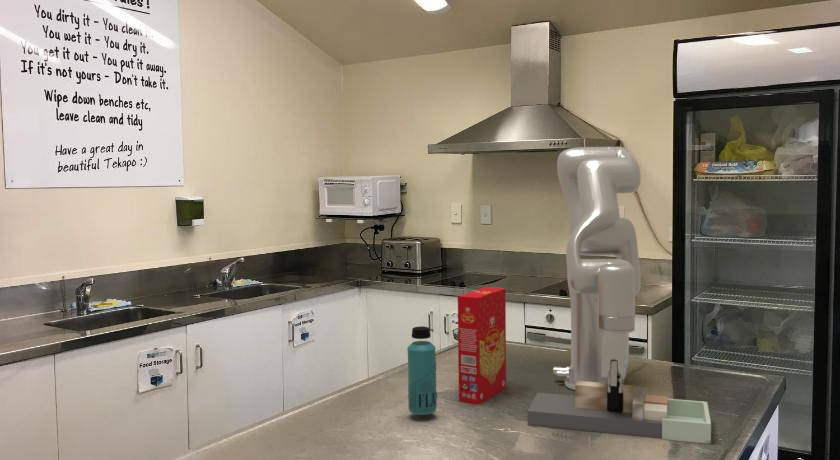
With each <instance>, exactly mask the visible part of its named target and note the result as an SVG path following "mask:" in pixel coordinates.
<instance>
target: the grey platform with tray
mask: <svg viewBox="0 0 840 460" xmlns="http://www.w3.org/2000/svg"><path fill="white" fill-rule="evenodd" d="M526 414H527V416H526V417H527V425H528V426H538V427H547V428H556V429H567V430H578V431H585V432H586V431H587V432H596V433H606V434H614V435H615V434H616V435H617V434H618V435H625V436H634V437H635V436H637V437H645V438H654V439H655V438H656V439H657V438H658V439H661V440H667V441H678V442H687V443H688V442H689V443H696V444H707V445H711V444H712V422H711V421H712V420H711V417H710V411H709V404H708V401H703V400H702V401H699V400H689V399H680V398H679V399H678V398H677V399H676V398H667V419H665V418H662V421H654V420H643V421H633V420H632V413H626V412H614V411H605V410H595V409H584V408H575V395H569V394H556V393H545V392H537V393H536V395H535V397H534V399H533V400H532V402H531V404H530V406H529V407H528V409H527V412H526Z"/></svg>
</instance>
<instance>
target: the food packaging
mask: <svg viewBox="0 0 840 460" xmlns="http://www.w3.org/2000/svg"><path fill="white" fill-rule="evenodd" d="M506 295H507V294H506V288H502V287H490V286H485V287H482V288H479V289H476V290H473V291H470V292H466V293H463V294H461V295H457V335H458V336H457V345H458V346H457V349H458V352H457V353H458V354H457V355H458V359H457V360H458V363H457V364H458V402H461V403H467V404H471V403H472V404H473V405H477V404H478V406H479V404H480V405H481V404H483V403H484V402H486V401H488V400H490V399H491V398H493V397H494V396H496V395H498V394H499V393H501V392H502V391H504V390H505V389H507V334H506V333H507V328H506V327H507V325H506V324H507V323H506V322H507V314H506V313H507V309H506V307H507V305H506ZM487 399H488V400H487Z"/></svg>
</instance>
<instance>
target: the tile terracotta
mask: <svg viewBox="0 0 840 460" xmlns="http://www.w3.org/2000/svg"><path fill="white" fill-rule="evenodd" d="M667 399H668V396H663V395H662V396H661V395H660V396H659V395H649V394H645V400H644V403H649V404H660V405H667Z"/></svg>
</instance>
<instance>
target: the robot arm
mask: <svg viewBox="0 0 840 460" xmlns="http://www.w3.org/2000/svg"><path fill="white" fill-rule="evenodd" d="M556 162H557V163H556V166H557V167H556V169H557V170H556V171H557V177H558V180H559V181H558V182H559V184H560V188H561V190H562V192H563V195H564V198H565V200H566V203H567V210H568V211H567V212H568V223H569V235H570V236H569V238H568V240H567V243H566V249H565V259H566V261H565V262H566V271H567V273H566V274H567V276H566V278H567V285H568V291H569V300H570V337H571V338H570V366H565V367H562V366H553V370H552V371H553V374H554V375H556V377H566V378H564V385H565V387H567V388H568V389H570V390H573V391H575V384H576V382H577V381H585V382H598V383H608V392H607V410H608V411H614V412H623V393H622V385H625V384H624V381H625V379H626V375H627V372H628V363H629V347H630V344H629V343H630V333H633V332H635V331H636V326H635V325H636V323H635V322H636V318H635V317H636V315H635V314H636V297H637V295H638V294H639V292H640V290H641V288H642V287H641V286H642V285H641V284H642V280H641V279H642V277H641V267H640V265H641V264H640V257H639V247H638V239H637V232H636V228H635V225H634V224H633V222H632V221H630V219H628V218H626V217H621V214H620V210H619V209H620V208H619V202H618V194H629V193H630V194H631V193H635V192H637V191H638V189H639V187H640V185H641V181H642V180H641V179H642V178H641V170H640V166H639V163H638V161H637V160H636V158H635V157H634V156H633V154H632V153H630V151H629V150H628V149H627V148H625V147H622V146H578V147H572V148H571V147H570V148H568V149H564V150H563V151H562V152H560V153H559V155H558V157H557V161H556ZM581 256H592V257H593V256H594V257H595V256H603V257H604V256H607V257H608V256H614V257H615V258H611V259H610V258H608V259H607V258H598V259H597V258H587V259H586V258H584V259H582V258H581Z"/></svg>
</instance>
